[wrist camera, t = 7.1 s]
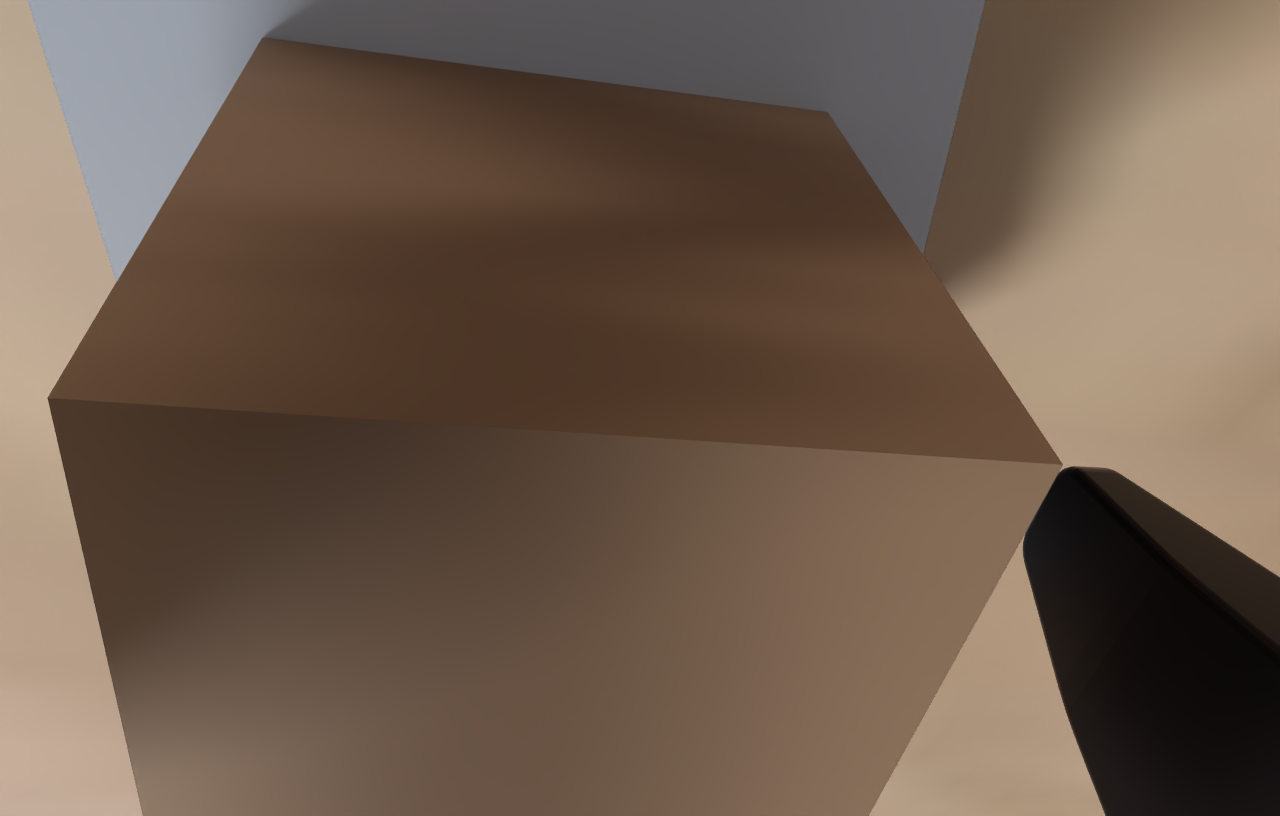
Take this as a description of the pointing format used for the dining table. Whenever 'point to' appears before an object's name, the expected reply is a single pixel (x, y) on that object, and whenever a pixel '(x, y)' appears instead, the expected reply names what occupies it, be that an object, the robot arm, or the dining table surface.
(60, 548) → the dining table surface
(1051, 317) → the dining table surface
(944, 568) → the walnut cube
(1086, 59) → the dining table surface
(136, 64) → the slate slab
